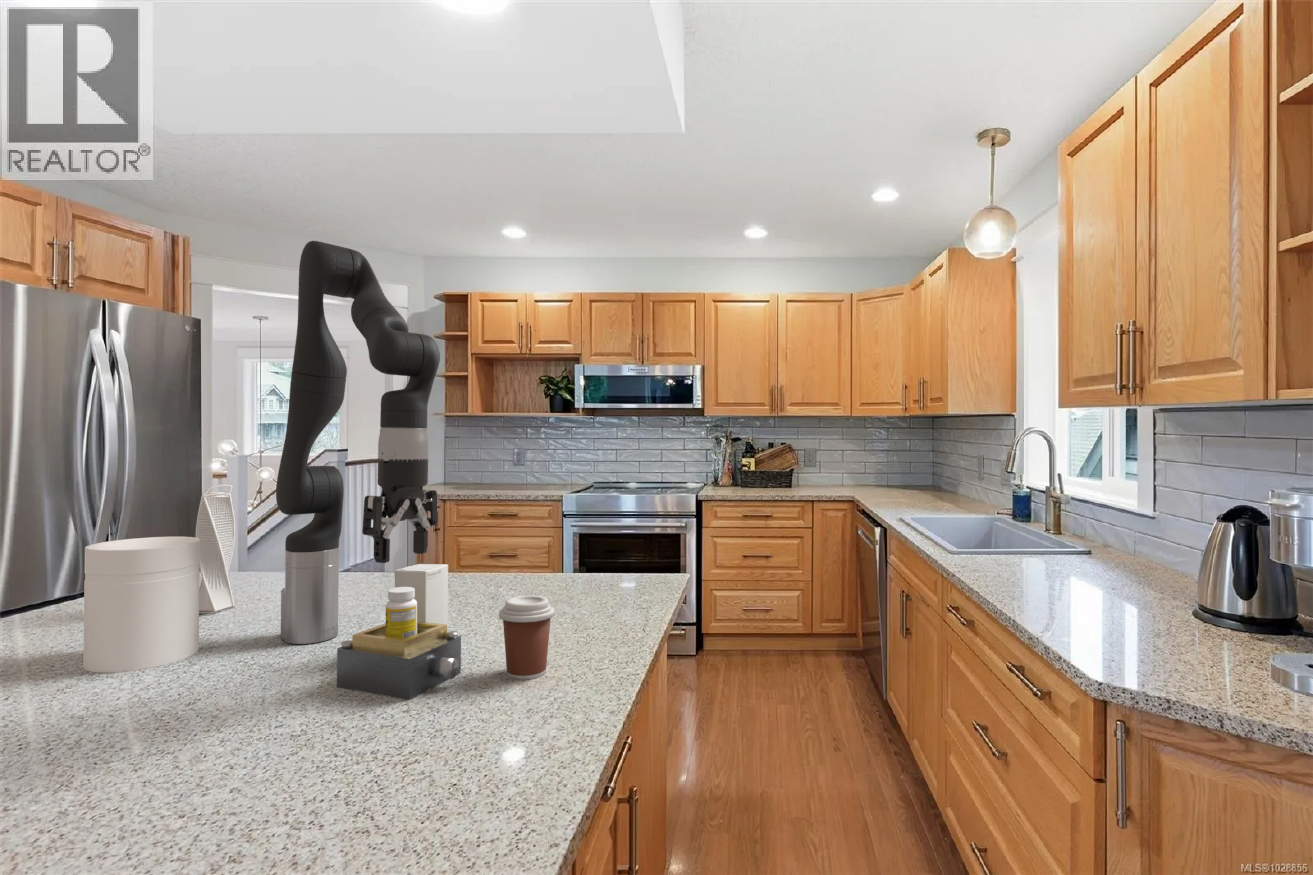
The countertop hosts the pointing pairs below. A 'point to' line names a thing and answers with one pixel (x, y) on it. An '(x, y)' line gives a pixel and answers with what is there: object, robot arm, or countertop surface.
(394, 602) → the supplement bottle
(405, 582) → the skincare box
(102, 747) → the countertop surface
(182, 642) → the canister
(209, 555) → the skyscraper
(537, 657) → the coffee cup
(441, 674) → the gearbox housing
